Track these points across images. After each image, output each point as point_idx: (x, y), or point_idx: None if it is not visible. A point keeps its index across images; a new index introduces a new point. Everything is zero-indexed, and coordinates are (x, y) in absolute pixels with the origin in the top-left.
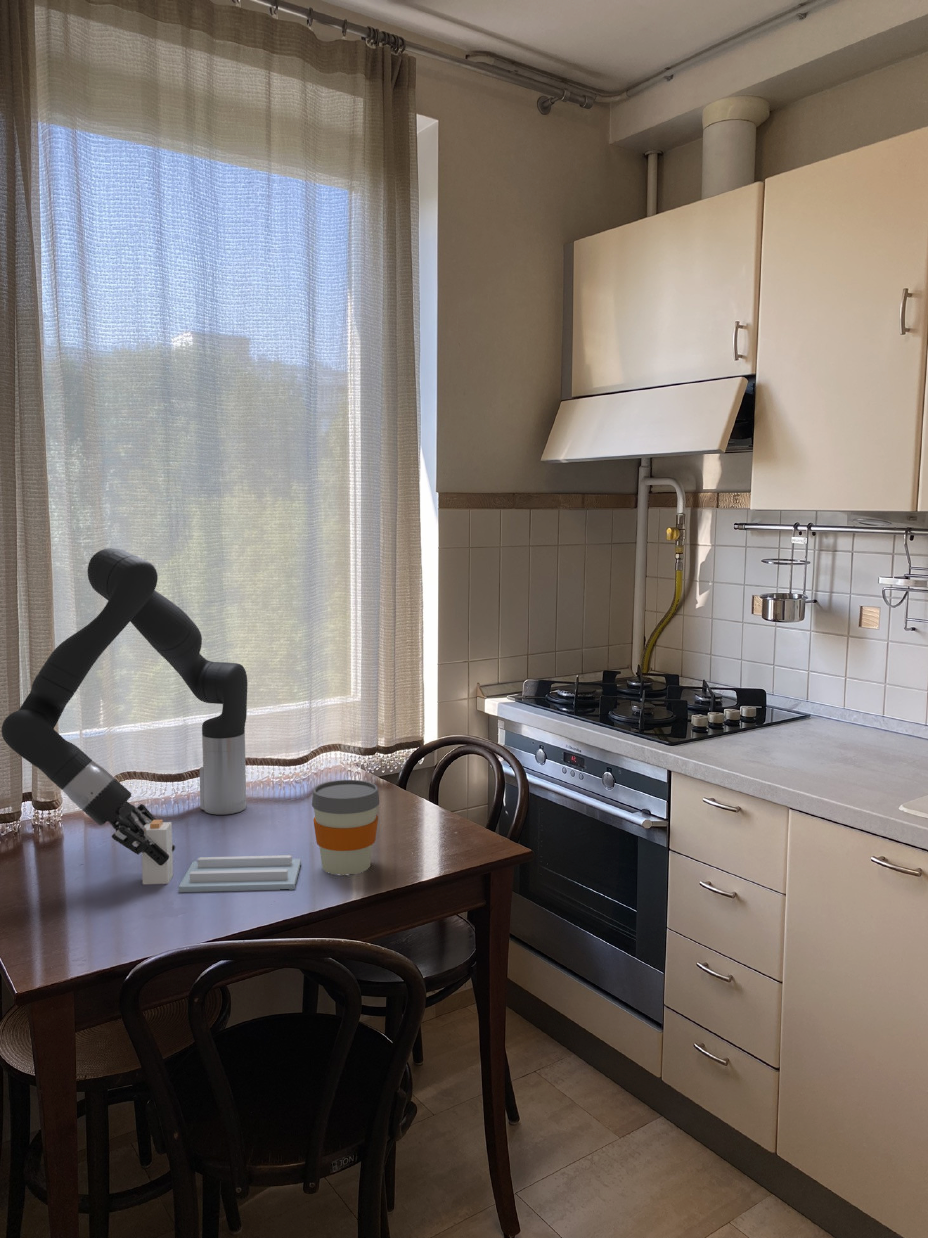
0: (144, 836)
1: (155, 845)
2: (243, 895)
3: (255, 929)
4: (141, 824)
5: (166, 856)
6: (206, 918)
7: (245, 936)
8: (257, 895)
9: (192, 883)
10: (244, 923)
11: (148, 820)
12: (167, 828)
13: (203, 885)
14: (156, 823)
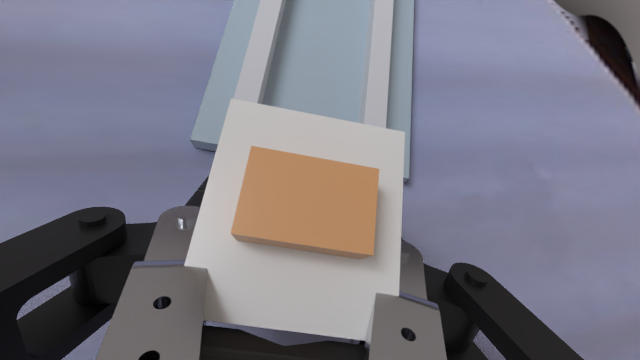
0: (425, 299)
1: None
2: (433, 42)
3: (590, 39)
4: (386, 352)
5: None
6: (554, 119)
7: (620, 57)
8: (435, 18)
9: None
10: (569, 53)
11: (181, 296)
12: (367, 126)
13: (406, 113)
14: (360, 194)
